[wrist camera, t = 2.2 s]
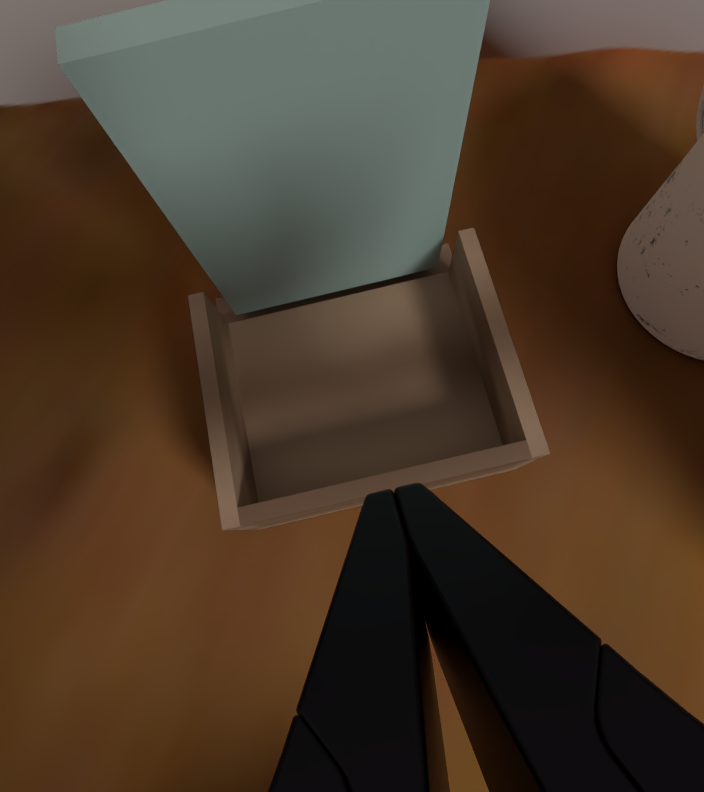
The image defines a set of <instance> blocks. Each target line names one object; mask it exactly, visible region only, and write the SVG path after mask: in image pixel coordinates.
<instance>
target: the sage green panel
mask: <svg viewBox="0 0 704 792" xmlns="http://www.w3.org/2000/svg"><path fill="white" fill-rule="evenodd" d="M489 3H490V0H167V1H162V2H158V3H154V4H150V5H146V6H142V7H138V8H134V9H130V10H125V11H121V12H117V13H113V14H109V15H105V16H101V17H97V18H93V19H88V20H85V21H80V22H76V23H72V24H68V25H64V26H59V27H55V33H56V46H57V58H58V65H59V67H60V68H61V70H62V71H63V72H64V74H65V75H66V76H67V78H68V79H69V81H70V82H71V84H72V85H73V86H74V88H75V89H76V91H77V92H78V93H79V95H80V96H81V98H82V99H83V101H84V102H85V103H86V105H87V106H88V108H89V109H90V110H91V112H92V113H93V115H94V116H95V117H96V119H97V120H98V122H99V123H100V124H101V126H102V127H103V129H104V130H105V131H106V133H107V134H108V136H109V137H110V139H111V140H112V141H113V143H114V144H115V146H116V147H117V148H118V150H119V151H120V153H121V154H122V155H123V157H124V158H125V160H126V161H127V162H128V164H129V165H130V167H131V168H132V169H133V171H134V172H135V174H136V175H137V176H138V178H139V179H140V181H141V182H142V184H143V185H144V186H145V188H146V189H147V191H148V192H149V193H150V195H151V196H152V198H153V199H154V200H155V202H156V203H157V205H158V206H159V207H160V209H161V210H162V212H163V213H164V214H165V216H166V217H167V219H168V220H169V222H170V223H171V224H172V226H173V227H174V229H175V230H176V231H177V233H178V234H179V236H180V237H181V238H182V240H183V241H184V243H185V244H186V245H187V247H188V248H189V250H190V251H191V252H192V254H193V255H194V257H195V258H196V260H197V261H198V262H199V264H200V265H201V267H202V268H203V269H204V271H205V272H206V274H207V275H208V276H209V278H210V279H211V281H212V282H213V283H214V285H215V286H216V288H217V289H218V290H219V292H220V293H221V295H222V296H223V298H224V299H225V300H226V302H227V303H228V305H229V306H230V307H231V309H232V310H233V312H234V313H235V314H236V315H240V314H244V313H248V312H252V311H256V310H261V309H265V308H269V307H273V306H277V305H282V304H286V303H290V302H294V301H299V300H303V299H307V298H311V297H315V296H320V295H324V294H328V293H332V292H336V291H341V290H345V289H349V288H353V287H358V286H362V285H366V284H370V283H374V282H379V281H383V280H387V279H391V278H395V277H400V276H404V275H408V274H412V273H417V272H421V271H425V270H429V269H433V268H438V263H439V258H440V253H441V248H442V243H443V238H444V233H445V227H446V222H447V217H448V212H449V207H450V202H451V197H452V192H453V187H454V182H455V177H456V171H457V166H458V161H459V156H460V151H461V146H462V141H463V136H464V131H465V126H466V121H467V115H468V110H469V105H470V100H471V95H472V90H473V85H474V80H475V75H476V70H477V65H478V59H479V54H480V49H481V44H482V39H483V34H484V29H485V24H486V19H487V14H488V9H489Z"/></svg>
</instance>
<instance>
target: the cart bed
mask: <svg viewBox="0 0 704 792" xmlns="http://www.w3.org/2000/svg"><path fill="white" fill-rule="evenodd" d="M188 300H189V307H190V314H191V321H192V327H193V334H194V341H195V348H196V355H197V361H198V368H199V375H200V382H201V389H202V396H203V402H204V409H205V416H206V423H207V430H208V436H209V443H210V450H211V457H212V464H213V470H214V477H215V484H216V491H217V498H218V505H219V511H220V518H221V525H222V530H260V529H264V528H269V527H273V526H277V525H282V524H286V523H290V522H294V521H299V520H303V519H307V518H312V517H316V516H320V515H324V514H329V513H333V512H337V511H341V510H346V509H350V508H354V507H359V506H363V503H364V500H365V497H366V496H367V495H368V494H370V493H374V492H378V491H382V490H387V489H391V490H392V491H393V492H394V490H395V489H396V488H397V487H399V486H404V485H408V484H412V483H421V484H423V485H424V486H425V487H426V488H427V489H429V490H431V489H436V488H440V487H444V486H448V485H453V484H457V483H461V482H466V481H470V480H474V479H478V478H483V477H487V476H491V475H495V474H500V473H504V472H508V471H512V470H515V469H517V468H519V467H521V466H524V465H526V464H528V463H530V462H532V461H535V460H537V459H539V458H541V457H544V456H546V455H548V454H550V451H549V448H548V446H547V443H546V440H545V437H544V434H543V431H542V428H541V425H540V422H539V419H538V416H537V413H536V410H535V407H534V404H533V401H532V398H531V395H530V392H529V389H528V386H527V383H526V380H525V377H524V374H523V371H522V368H521V365H520V362H519V359H518V356H517V354H516V351H515V348H514V345H513V342H512V339H511V336H510V333H509V330H508V327H507V324H506V321H505V318H504V315H503V312H502V309H501V306H500V303H499V300H498V297H497V294H496V291H495V288H494V285H493V282H492V279H491V276H490V273H489V270H488V267H487V264H486V262H485V259H484V256H483V253H482V250H481V247H480V244H479V241H478V238H477V235H476V232H475V229H474V228H469V229H465V230H461V231H458V234H457V239H456V243H455V247H454V251H453V255H452V252H451V249H450V246H449V243H446V244H442V248H441V253H440V258H439V263H438V268H433V269H429V270H425V271H421V272H417V273H412V274H408V275H404V276H400V277H395V278H391V279H387V280H383V281H379V282H374V283H370V284H366V285H362V286H358V287H353V288H349V289H345V290H341V291H336V292H332V293H328V294H324V295H320V296H315V297H311V298H307V299H303V300H299V301H294V302H290V303H286V304H282V305H277V306H273V307H269V308H265V309H261V310H256V311H252V312H248V313H244V314H240V315H236V314H235V313H234V312H233V310H232V309H231V307H230V306H229V305H228V303H227V302H226V300H225V299H224V298H223V297H219V298H215V301H216V307H217V309H216V307H215V306H214V305H213V303H212V302H211V301H210V300H209V298H208V297H207V296H206V294H205V293H204V292H200V293H196V294H192V295H188Z"/></svg>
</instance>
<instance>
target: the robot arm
mask: <svg viewBox="0 0 704 792" xmlns="http://www.w3.org/2000/svg"><path fill="white" fill-rule="evenodd" d="M425 621H426V622H425ZM426 625H427V627H426ZM427 628H428V632H429V635H430V638H431V641H432V644H433V647H434V649H435V652H436V655H437V657H438V660H439V663H440V665H441V668H442V670H443V673H444V676H445V678H446V681H447V683H448V686H449V688H450V691H451V694H452V696H453V699H454V701H455V704H456V707H457V709H458V712H459V714H460V717H461V720H462V722H463V725H464V727H465V730H466V732H467V735H468V738H469V740H470V743H471V745H472V748H473V751H474V753H475V756H476V758H477V761H478V764H479V766H480V769H481V771H482V774H483V776H484V779H485V782H486V784H487V787H488V789H489V792H704V724H703V723H702V722H701V721H699V720H698V719H697V718H695V717H694V716H693V715H691V714H690V713H689V712H687V711H686V710H685V709H684V708H683V707H681V706H680V705H679V704H678V703H677V702H675V701H674V700H673V699H672V698H670V697H669V696H668V695H667V694H666V693H664V692H663V691H662V690H661V689H660V688H658V687H657V686H656V685H655V684H653V683H652V682H651V681H650V680H649V679H647V678H646V677H645V676H644V675H643V674H641V673H640V672H639V671H638V670H637V669H635V668H634V667H633V666H632V665H631V664H630V663H629V662H627V661H626V660H625V659H624V658H623V657H622V656H621V655H619V654H618V653H617V652H616V651H615V650H614V649H613V648H611V647H610V646H609V645H608V644H603V645H602V646H601V643H602V641H601V639H600V638H599V637H598V636H597V635H596V634H595V633H594V632H593V631H591V630H590V629H589V628H588V627H587V626H586V625H584V624H583V623H582V622H581V621H580V620H579V619H578V618H576V617H575V616H574V615H573V614H572V613H571V612H569V611H568V610H567V609H566V608H565V607H564V606H563V605H561V604H560V603H559V602H558V601H557V600H556V599H554V598H553V597H552V596H551V595H550V594H549V593H548V592H546V591H545V590H544V589H543V588H542V587H541V586H539V585H538V584H537V583H536V582H535V581H534V580H533V579H531V578H530V577H529V576H528V575H527V574H526V573H524V572H523V571H522V570H521V569H520V568H519V567H518V566H516V565H515V564H514V563H513V562H512V561H511V560H509V559H508V558H507V557H506V556H505V555H504V554H502V553H501V552H500V551H499V550H498V549H497V548H496V547H494V546H493V545H492V544H491V543H490V542H489V541H487V540H486V539H485V538H484V537H483V536H482V535H481V534H479V533H478V532H477V531H476V530H475V529H474V528H473V527H471V526H470V525H469V524H468V523H467V522H466V521H464V520H463V519H462V518H461V517H460V516H459V515H457V514H456V513H455V512H454V511H453V510H452V509H451V508H449V507H448V506H447V505H446V504H445V503H444V502H442V501H441V500H440V499H439V498H438V497H437V496H436V495H434V494H433V493H432V492H431V491H430V490H429V489H427V488H426V487H425V486H424V485H423V484H421V483H412V484H408V485H404V486H399V487H397V488H396V489H395V490H394V492H393V491H392V490H391V489H387V490H382V491H378V492H374V493H370V494H368V495H367V496H366V497H365V500H364V503H363V506H362V509H361V512H360V515H359V518H358V521H357V524H356V527H355V530H354V533H353V536H352V540H351V543H350V546H349V549H348V552H347V555H346V558H345V561H344V564H343V567H342V570H341V573H340V576H339V579H338V582H337V586H336V589H335V592H334V595H333V598H332V601H331V604H330V607H329V610H328V613H327V616H326V619H325V622H324V625H323V629H322V632H321V635H320V638H319V641H318V644H317V647H316V650H315V653H314V656H313V659H312V662H311V665H310V668H309V671H308V675H307V678H306V681H305V684H304V687H303V690H302V693H301V696H300V699H299V702H298V705H297V709H296V711H297V714H298V715H296V716H294V717H293V720H292V723H291V726H290V729H289V732H288V735H287V738H286V741H285V744H284V747H283V750H282V753H281V756H280V759H279V762H278V765H277V767H276V770H275V773H274V776H273V779H272V781H271V784H270V787H269V790H268V792H450V789H449V782H448V774H447V767H446V759H445V752H444V744H443V737H442V730H441V722H440V715H439V707H438V700H437V692H436V685H435V678H434V670H433V663H432V655H431V649H430V643H429V637H428V632H427Z"/></svg>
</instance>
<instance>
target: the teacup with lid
mask: <svg viewBox="0 0 704 792" xmlns="http://www.w3.org/2000/svg"><path fill="white" fill-rule="evenodd" d="M696 138H697V142H696V144H695V145H694V146H693V147H692V148H691V150H690V151H689V152H688V153H687V155H686V156H685V157H684V158H683V160H682V161H681V162H680V163H679V165H678V166H677V167H676V168H675V170H674V171H673V172H672V173H671V175H670V176H669V177H668V178H667V180H666V181H665V182H664V183H663V185H662V186H661V187H660V188H659V189H658V191H657V192H656V193H655V194H654V196H653V197H652V198H651V199H650V201H649V202H648V203H647V204H646V206H645V207H644V208H643V209H642V211H641V212H640V213H639V214H638V216H637V217H636V218H635V219H634V221H633V222H632V223H631V224H630V226H629V228H628V229H627V231H626V233H625V235H624V237H623V239H622V241H621V244H620V247H619V252H618V259H617V274H618V281H619V285H620V289H621V292H622V295H623V297H624V299H625V301H626V303H627V305H628V307H629V309H630V310H631V312H632V314H633V315H634V316H635V318H636V319H637V320H638V321H639V322H640V324H641V325H642V326H643V327H644V328H645V329H646V330H647V331H648V332H649V333H650V334H652V335H653V336H654V337H655V338H657V339H658V340H659V341H661V342H662V343H664V344H665V345H667V346H669V347H670V348H672V349H674V350H676V351H678V352H680V353H683V354H685V355H687V356H690V357H693V358H696V359H700V360H704V87H703V90H702V93H701V97H700V100H699V104H698V109H697V115H696Z"/></svg>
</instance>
